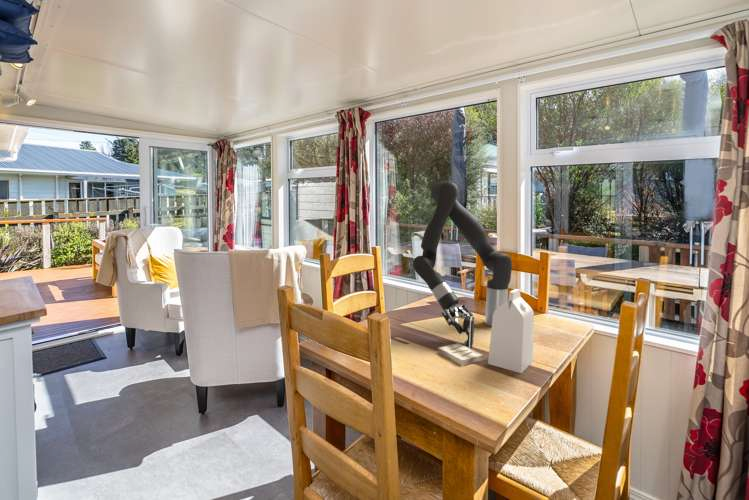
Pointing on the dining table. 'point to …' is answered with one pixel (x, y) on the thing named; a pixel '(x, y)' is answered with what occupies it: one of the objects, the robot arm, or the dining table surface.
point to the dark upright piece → (469, 330)
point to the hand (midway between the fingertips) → (468, 330)
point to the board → (460, 354)
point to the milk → (512, 334)
